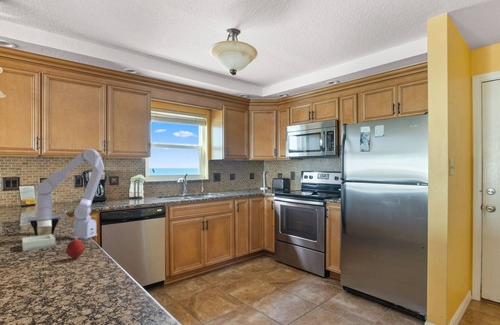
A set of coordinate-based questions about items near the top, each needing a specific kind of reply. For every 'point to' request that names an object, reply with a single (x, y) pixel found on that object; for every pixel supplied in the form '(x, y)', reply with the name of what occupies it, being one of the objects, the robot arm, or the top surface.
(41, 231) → the block
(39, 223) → the cylindrical container
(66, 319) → the top surface
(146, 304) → the top surface
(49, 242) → the dish
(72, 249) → the onion
